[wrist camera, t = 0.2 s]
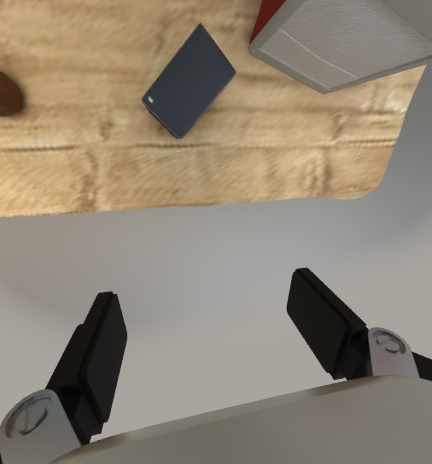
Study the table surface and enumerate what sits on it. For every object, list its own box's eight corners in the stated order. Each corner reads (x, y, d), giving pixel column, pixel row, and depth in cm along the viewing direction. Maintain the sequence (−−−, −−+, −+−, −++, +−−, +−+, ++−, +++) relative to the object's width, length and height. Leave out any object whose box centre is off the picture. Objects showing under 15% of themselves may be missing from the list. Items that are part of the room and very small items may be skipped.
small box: (178, 141, 36) (180, 142, 26) (147, 110, 33) (137, 99, 24) (220, 91, 34) (239, 73, 24) (191, 54, 31) (198, 17, 22)
